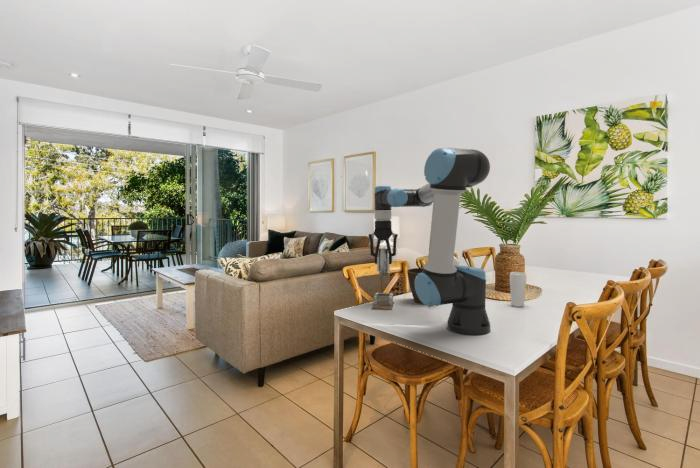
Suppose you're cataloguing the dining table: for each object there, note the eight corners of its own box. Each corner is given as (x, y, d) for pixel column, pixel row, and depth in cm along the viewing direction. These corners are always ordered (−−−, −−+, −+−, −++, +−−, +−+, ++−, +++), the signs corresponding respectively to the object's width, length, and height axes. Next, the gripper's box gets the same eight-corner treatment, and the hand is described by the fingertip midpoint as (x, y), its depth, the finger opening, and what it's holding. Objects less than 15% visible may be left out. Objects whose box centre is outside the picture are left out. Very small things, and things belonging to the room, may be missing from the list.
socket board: (391, 313, 158) (391, 301, 157) (371, 312, 159) (370, 300, 159) (394, 304, 172) (394, 293, 172) (375, 303, 174) (374, 292, 174)
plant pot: (421, 310, 161) (421, 274, 160) (400, 303, 174) (400, 269, 173) (446, 305, 169) (446, 271, 168) (424, 299, 182) (424, 267, 180)
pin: (387, 275, 166) (387, 249, 165) (378, 275, 167) (378, 249, 166) (388, 274, 170) (388, 248, 169) (379, 274, 171) (379, 248, 170)
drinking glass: (517, 303, 171) (518, 271, 170) (529, 306, 164) (529, 273, 163) (506, 304, 169) (506, 272, 168) (517, 308, 162) (517, 274, 161)
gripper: (402, 219, 169) (402, 270, 170) (365, 219, 172) (366, 269, 173) (401, 220, 161) (401, 272, 163) (363, 220, 165) (363, 272, 166)
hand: (383, 270), depth 168 cm, fingers closed on pin, 4 cm apart
